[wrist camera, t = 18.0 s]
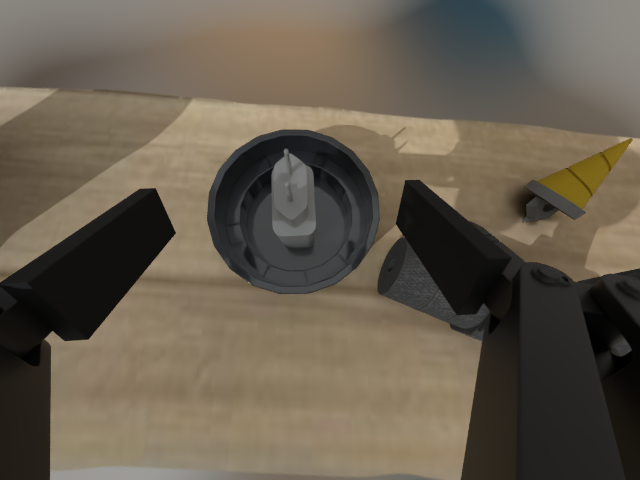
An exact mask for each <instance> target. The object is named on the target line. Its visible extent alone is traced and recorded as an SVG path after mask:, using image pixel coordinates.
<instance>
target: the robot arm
mask: <svg viewBox="0 0 640 480" xmlns="http://www.w3.org/2000/svg"><path fill="white" fill-rule="evenodd" d="M396 225H397V226H398V228H399V229H400V231H401V232H402V234H403V235H404V237H405V238H406V240H407V241H408V243H409V244H410V246H411V247H412V249H413V250H414V252H415V253H416V255H417V256H418V258H419V259H420V261H421V262H422V264H423V265H424V267H425V268H426V270H427V271H428V273H429V274H430V276H431V277H432V279H433V280H434V282H435V283H436V285H437V286H438V288H439V289H440V291H441V292H442V294H443V296H444V297H445V299H446V300H447V302H448V303H449V305H450V306H451V308H452V309H453V311H454V312H455V314H456V315H473V314H477V313H478V311H479V309H480V308H481V306H482V305H483V303H484V304H485V306H486V307H487V308H488V309H489V311H490V312H489V314H488V315H487V317H486V318H485V320H484V321H483V323H482V324H481V326H480V327H479V329H478V331H480V332H481V331H482V330H483V328H484V334H483V341H482V347H481V354H480V360H479V366H478V373H477V379H476V386H475V392H474V399H473V405H472V412H471V418H470V424H469V431H468V437H467V444H466V450H465V457H464V463H463V469H462V476H461V480H640V281H639V280H638V279H635V278H632V277H626V276H623V275H617V274H606V275H603V276H602V277H601V278H600V279H599V280H598V281H597V282H596V283H595V284H594V285H591V284H585V283H578V282H574V281H573V280H572V279H571V278H570V277H569V276H567V275H566V274H565V273H563V272H561V271H559V270H557V269H556V268H553V267H550V266H548V265H545V264H540V263H535V262H527V263H526V262H525V261H524V260H522V259H521V258H520V257H519V256H518V255H516V254H515V253H514V252H513V251H511V250H510V249H509V248H508V247H506V246H505V245H504V244H503V243H501V242H499V240H498V239H496V238H495V237H494V236H492V235H491V234H490V233H489V232H488V231H486V230H485V229H484V228H483V227H481V226H479V225H477V224H475V223H473V222H469V221H468V220H466V219H465V218H464V217H463V216H462V215H460V214H459V213H458V212H457V211H456V210H454V209H453V208H452V207H451V206H450V205H448V204H447V203H446V202H445V201H444V200H442V199H441V198H440V197H439V196H438V195H436V194H435V193H434V192H433V191H432V190H431V189H429V188H428V187H427V186H426V185H425V184H423V183H422V182H421V181H420V180H405V185H404V189H403V194H402V198H401V203H400V207H399V212H398V216H397V221H396ZM175 234H176V232H175V230H174V228H173V226H172V224H171V221H170V219H169V217H168V215H167V212H166V210H165V208H164V206H163V204H162V201H161V199H160V197H159V195H158V193H157V190H156V188H151V189H139V190H138V191H136V192H135V193H133V194H132V195H130V196H129V197H127V198H126V199H124V200H123V201H121V202H120V203H118V204H117V205H115V206H114V207H112V208H111V209H109V210H108V211H106V212H105V213H103V214H102V215H100V216H99V217H97V218H96V219H94V220H93V221H91V222H90V223H88V224H87V225H85V226H84V227H82V228H81V229H79V230H78V231H76V232H75V233H74V234H72V235H71V236H69V237H68V238H66V239H65V240H63V241H62V242H60V243H59V244H57V245H56V246H54V247H53V248H51V249H50V250H48V251H47V252H45V253H44V254H42V255H41V256H39V257H38V258H36V259H35V260H33V261H32V262H30V263H29V264H27V265H26V266H24V267H23V268H21V269H20V270H18V271H17V272H15V273H14V274H12V275H11V276H9V277H8V278H6V279H5V280H3V281H2V282H0V480H50V397H51V346H50V344H49V343H48V342H47V341H46V340H44V339H45V338H46V337H47V336H48V335H49V334H50V333H51V332H52V331H53V332H55V333H56V334H57V335H58V336H59V337H61V338H62V339H63V340H64V341H73V340H88V339H89V338H90V337H91V336H92V334H93V333H94V332H95V331H96V330H97V328H98V327H99V326H100V325H101V323H102V322H103V321H104V320H105V319H106V317H107V316H108V315H109V314H110V313H111V311H112V310H113V309H114V308H115V306H116V305H117V304H118V303H119V302H120V300H121V299H122V298H123V297H124V296H125V294H126V293H127V292H128V291H129V289H130V288H131V287H132V286H133V285H134V283H135V282H136V281H137V280H138V279H139V277H140V276H141V275H142V274H143V272H144V271H145V270H146V269H147V268H148V266H149V265H150V264H151V263H152V261H153V260H154V259H155V258H156V257H157V255H158V254H159V253H160V252H161V251H162V249H163V248H164V247H165V246H166V244H167V243H168V242H169V241H170V240H171V238H172V237H173V236H174V235H175ZM624 340H626V341H627V342H628V344H629V345H630V347H631V349H632V351H630V352H629V353H627V354H626V355H623V356H621V355H620V354H619V353H618V351H617V350H616V348H615V347H616V346H617V345H619V344H620V343H622V342H623V341H624Z"/></svg>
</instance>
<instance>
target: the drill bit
mask: <svg viewBox="0 0 640 480" xmlns="http://www.w3.org/2000/svg"><path fill="white" fill-rule="evenodd" d="M632 140H633V139H628V140H626V141H624V142H622V143H620V144H617V145H615V146H613V147H611V148H609V149H606V150H604V151H603V152H600V153H598V154H596V155H593V156H591V157H589V158H587V159H585V160H583V161H580V162H578V163H576V164H574V165H572V166H570V167H569V169H568V168H565V169H563V170H561V171H559V172H556V173H554V174H552V175H550V176H548V177H546V178H543V179H541V180H539V181H538V182H537V181H535V180H532V181H531V182H530V183H528V184H527V185H526V186H525V188H526V189H528V190H529V191H530V192H532V193H533V194H535V195H536V197H535V198H534V199H532V200H531V201H530V202H529V203H528V204H527V205H526V211H527V215H526V217H525V218H524V220H523V222H529V221H535V220H542V219H546V218H548V217H550V216H551V215H553V214H554V213H555V212H557V211H558V210H559V211H561V212H563V213H564V214H566V215H567V216H569V217H571V218H572V219H574V220H576V219H577V218H579V217H580V216H581V215H583V214H584V213H586V212H585V211H583V210H582V209H583V208H584V206H585V205H586V203H587V202H588V201H589V199H590V198H591V196H592V195H593V194H594V192H595V191H596V190H597V188H598V187H599V186H600V184H601V183H602V181H603V180H604V179H605V177H606V176H607V175H608V173H609V172H610V170H611V169H612V168H613V166H614V165H615V164H616V162H617V161H618V159H619V158H620V157H621V155H622V154H623V153H624V151H625V150H626V148H627V147H628V145H629V144H630V143H631V142H632ZM537 196H538V197H537ZM540 198H541V199H540ZM543 200H544V201H543ZM546 202H547V203H548V204H547V203H546Z"/></svg>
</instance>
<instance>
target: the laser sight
mask: <svg viewBox="0 0 640 480" xmlns="http://www.w3.org/2000/svg"><path fill="white" fill-rule="evenodd" d="M616 274H617V275H623V276H626V277H632V278H635V279H638V280H639V281H640V269H635V270H630V271H625V272H620V273H616ZM601 277H602V276H601ZM601 277H596V278H592V279H587V280H582V281H578V283H585V284H591V285H594V284H595V283H596V282H597V281H598V280H599V279H600V278H601ZM378 292H379V294H380V295H383V296H386V297H388V298H390V299H393V300H395V301H397V302H400V303H402V304H405V305H407V306H409V307H411V308H414V309H416V310H419V311H422V312H424V313H426V314H429V315H431V316H433V317H436V318H438V319H440V320H442V321H445V322H448V323H450V327H451V329H453V330H456V331H458V332H460V333H463V334H465V335H468V336H470V337H472V338H475V339H477V340H480V341H483V334H484V328H483V330H482V331H481V332H480V331H478V329H479V327H480V326H481V324H482V323H483V321H484V320H485V318H486V317H487V315H488V314H489V312H490V311H489V309H488V308H487V307H486V306H485V304H484V303H483V305H482V306H481V308H480V309H479V311H478V313H477V314H473V315H456V314H455V312H454V311H453V309H452V308H451V306H450V305H449V303H448V302H447V300H446V299H445V297H444V296H443V294H442V292H441V291H440V289H439V288H438V286H437V285H436V283H435V282H434V280H433V279H432V277H431V276H430V274H429V273H428V271H427V270H426V268H425V267H424V265H423V264H422V262H421V261H420V259H419V258H418V256H417V255H416V253H415V252H414V250H413V249H412V247H411V246H410V244H409V243H408V241H407V240H406V239H405V238H401V239H399V240H398V241H397V242H396V243H395V244H394V245H393V246H392V248H391V249H390V251H389V253H388V254H387V256H386V258H385V261H384V263H383V265H382V268H381V271H380V274H379V279H378ZM615 348H616V350H617V351H618V353H619V354H620V355H621V356H623V355H626V354H627V353H629V352H630V351H632V349H631V347H630V345H629V344H628V342H627V341H626V340H624V341H623V342H622V343H620V344H619V345H617V346H616V347H615Z"/></svg>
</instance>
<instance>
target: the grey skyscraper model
mask: <svg viewBox="0 0 640 480" xmlns="http://www.w3.org/2000/svg"><path fill="white" fill-rule="evenodd" d="M284 155H285V156H284V157H283V158H282V159H281V160H279V161H278V162H277V163H276V164H275V166H274V169H273V171H272V176H271V177H272V226H273V230H274V232H275V233H276V235H277V236H278V237H279V239H280V240H281V241H282V243H283V244H284V245H285V246H286V248H288V249H308V248H311V247H312V246H313V244H314V238H315V229H316V215H315V196H314V176H313V171H312V169H311V168H310V167H309V166H307V165H305V164H304V163H303V162H302V161H301V160H299V159H298V158H297V157H295V156H294V155H293V154H289V151H288V149H284Z"/></svg>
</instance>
